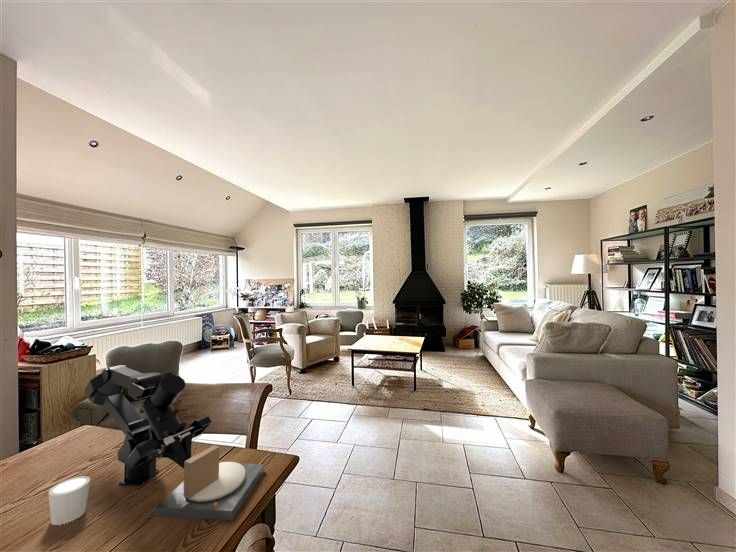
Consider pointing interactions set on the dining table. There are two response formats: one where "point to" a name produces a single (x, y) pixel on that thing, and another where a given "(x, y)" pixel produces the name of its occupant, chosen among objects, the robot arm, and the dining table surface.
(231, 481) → the dial
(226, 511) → the dial plate
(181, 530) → the dining table surface
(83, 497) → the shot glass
